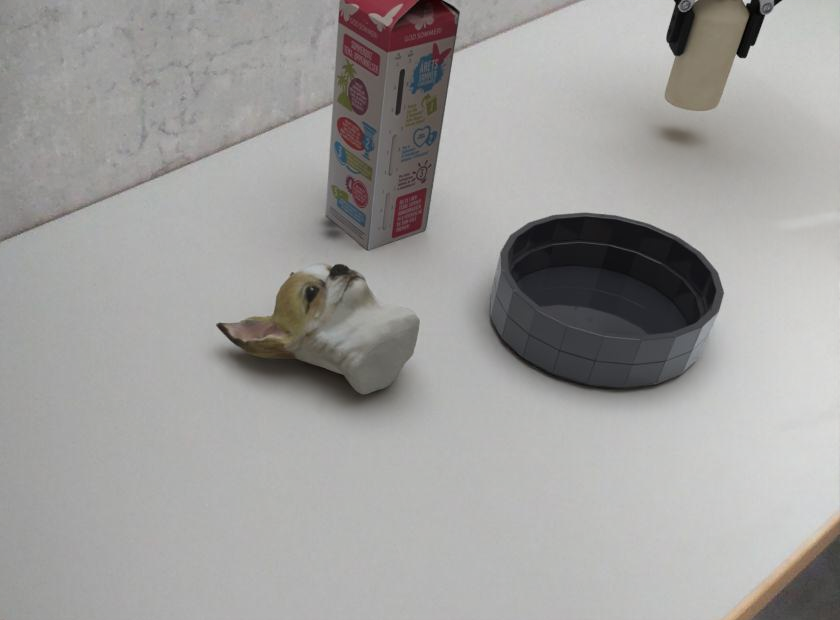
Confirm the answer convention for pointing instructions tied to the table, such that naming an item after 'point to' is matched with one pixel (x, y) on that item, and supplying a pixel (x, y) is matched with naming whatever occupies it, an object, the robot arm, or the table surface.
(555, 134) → the table surface
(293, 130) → the table surface
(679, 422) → the table surface
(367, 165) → the juice carton
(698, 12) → the candle
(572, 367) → the pan
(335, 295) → the ceramic sculpture
